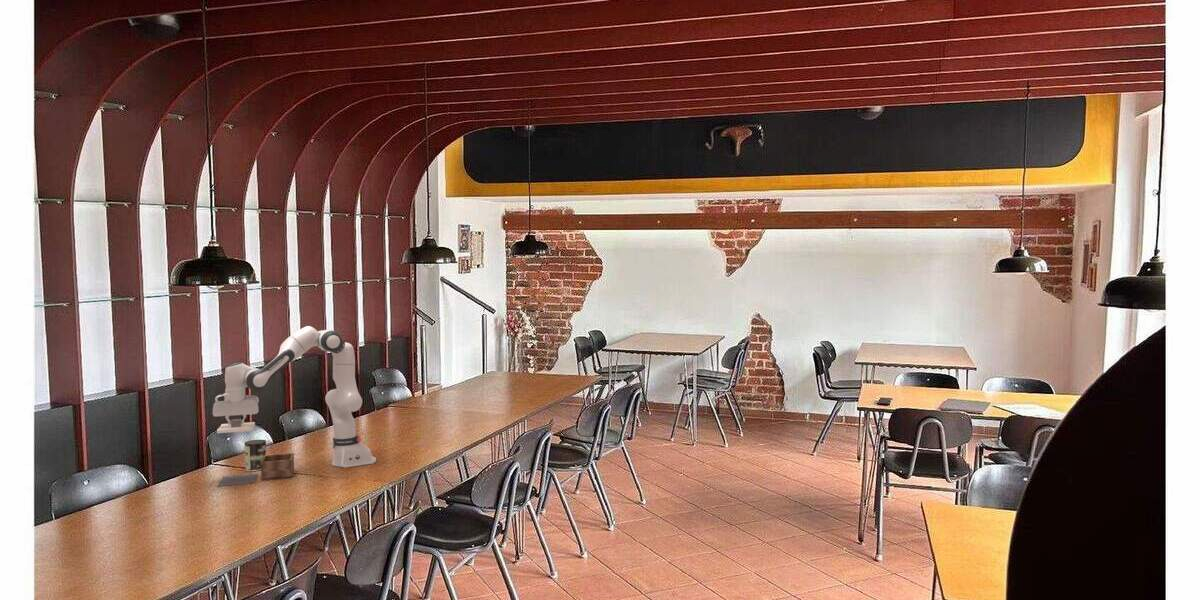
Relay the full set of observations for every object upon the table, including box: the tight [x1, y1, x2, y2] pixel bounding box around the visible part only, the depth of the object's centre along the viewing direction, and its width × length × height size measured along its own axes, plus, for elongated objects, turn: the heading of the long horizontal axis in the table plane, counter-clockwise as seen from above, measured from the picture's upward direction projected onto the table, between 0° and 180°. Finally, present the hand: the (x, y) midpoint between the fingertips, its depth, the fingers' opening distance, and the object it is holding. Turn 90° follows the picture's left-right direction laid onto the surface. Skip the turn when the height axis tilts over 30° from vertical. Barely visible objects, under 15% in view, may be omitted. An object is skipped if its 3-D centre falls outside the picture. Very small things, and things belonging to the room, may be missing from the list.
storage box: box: [260, 452, 295, 481], centre depth 385 cm, size 14×14×9 cm
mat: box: [217, 473, 259, 487], centre depth 378 cm, size 16×16×1 cm
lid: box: [216, 418, 256, 434], centre depth 376 cm, size 15×15×4 cm
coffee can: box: [243, 439, 267, 472], centre depth 399 cm, size 10×10×14 cm
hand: (236, 424), depth 377 cm, fingers closed on lid, 4 cm apart
